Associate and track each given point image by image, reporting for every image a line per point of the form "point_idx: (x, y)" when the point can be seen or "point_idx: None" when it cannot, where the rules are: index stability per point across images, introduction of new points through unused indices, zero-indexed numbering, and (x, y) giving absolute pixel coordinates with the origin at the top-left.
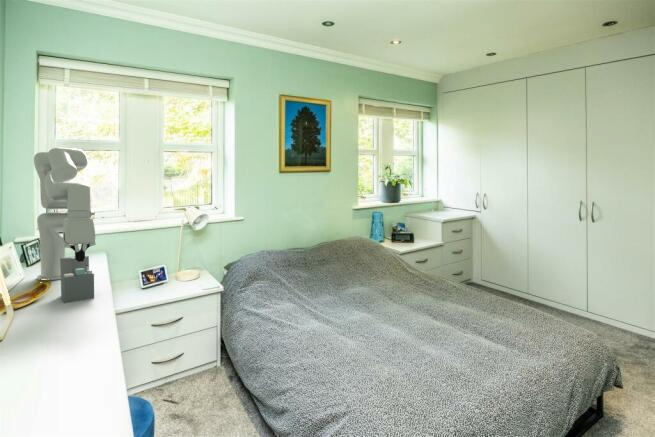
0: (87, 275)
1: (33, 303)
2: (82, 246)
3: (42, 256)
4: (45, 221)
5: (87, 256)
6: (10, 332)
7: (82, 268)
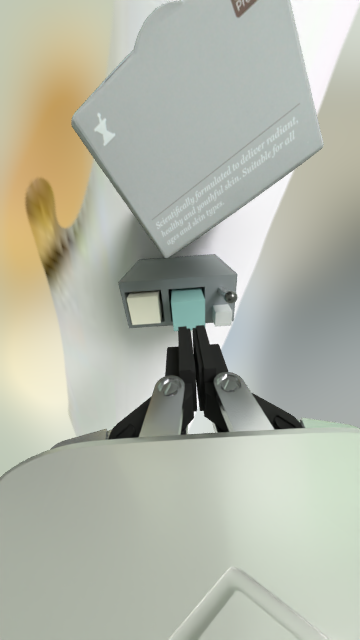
0: (208, 320)
1: (70, 243)
2: (234, 416)
3: None
4: None
5: (305, 159)
6: (68, 400)
7: (201, 309)
